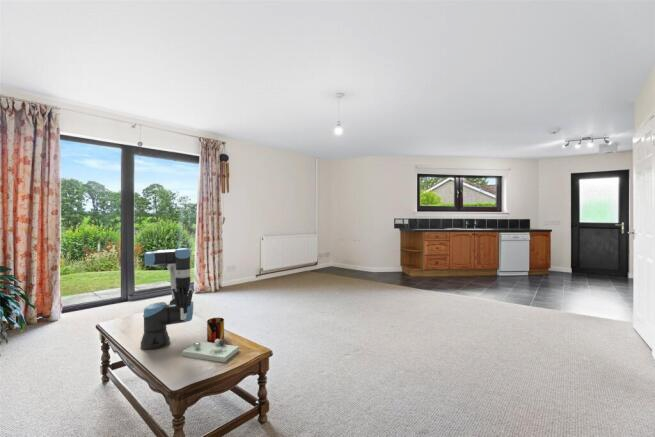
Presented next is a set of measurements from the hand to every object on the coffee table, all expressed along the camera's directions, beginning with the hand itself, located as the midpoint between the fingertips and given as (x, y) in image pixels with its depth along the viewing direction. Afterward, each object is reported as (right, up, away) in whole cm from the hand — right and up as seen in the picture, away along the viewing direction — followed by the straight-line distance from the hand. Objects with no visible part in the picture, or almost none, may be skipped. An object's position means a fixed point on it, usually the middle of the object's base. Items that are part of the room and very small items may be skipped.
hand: (183, 318), depth 180 cm
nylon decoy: (+18, -14, +4) cm, 23 cm away
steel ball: (+9, -14, -2) cm, 17 cm away
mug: (+14, -18, +15) cm, 27 cm away
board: (+16, -18, -2) cm, 24 cm away
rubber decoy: (+21, -14, +3) cm, 25 cm away
